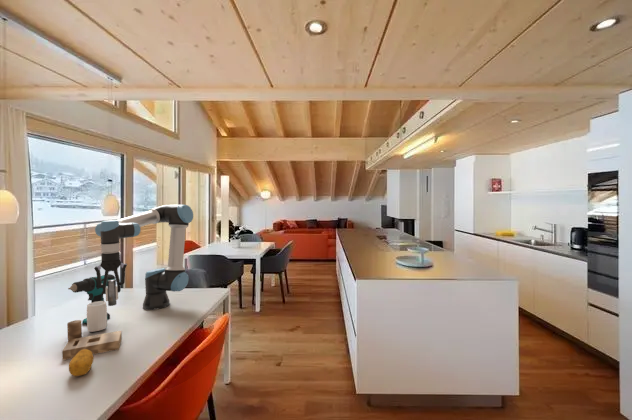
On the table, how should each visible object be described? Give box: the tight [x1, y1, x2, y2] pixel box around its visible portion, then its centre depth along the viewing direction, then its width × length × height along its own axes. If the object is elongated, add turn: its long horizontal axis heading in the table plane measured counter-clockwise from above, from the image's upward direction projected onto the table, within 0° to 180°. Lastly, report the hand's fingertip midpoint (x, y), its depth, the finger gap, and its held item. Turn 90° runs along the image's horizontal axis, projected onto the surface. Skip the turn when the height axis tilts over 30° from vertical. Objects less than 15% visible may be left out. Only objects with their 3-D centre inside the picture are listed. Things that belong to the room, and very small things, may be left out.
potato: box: [68, 349, 95, 377], centre depth 119 cm, size 7×14×7 cm, turn 25°
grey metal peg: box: [107, 279, 117, 307], centre depth 150 cm, size 3×3×12 cm
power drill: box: [67, 273, 116, 325], centre depth 169 cm, size 26×9×25 cm, turn 168°
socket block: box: [61, 330, 123, 361], centre depth 138 cm, size 20×12×4 cm, turn 118°
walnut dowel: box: [67, 319, 83, 342], centre depth 144 cm, size 5×5×10 cm
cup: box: [86, 300, 108, 333], centre depth 158 cm, size 8×8×14 cm
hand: (112, 299), depth 150 cm, fingers closed on grey metal peg, 3 cm apart
